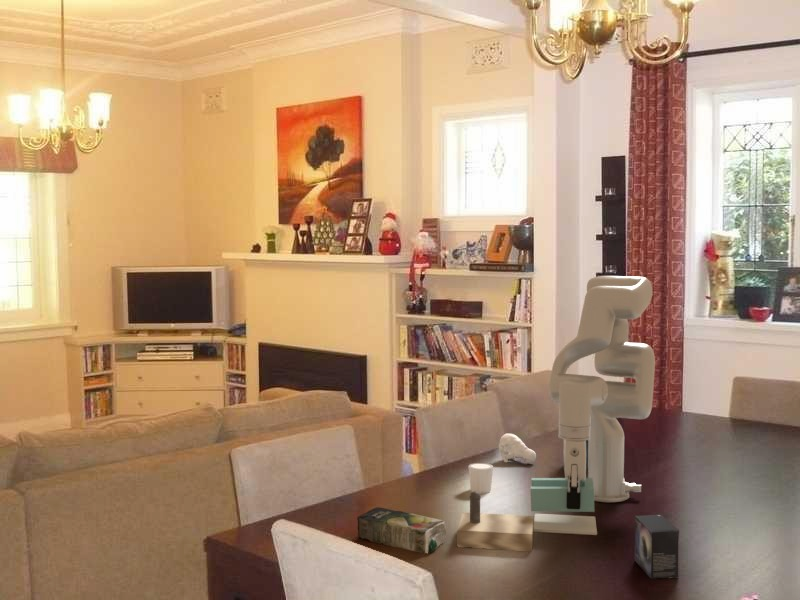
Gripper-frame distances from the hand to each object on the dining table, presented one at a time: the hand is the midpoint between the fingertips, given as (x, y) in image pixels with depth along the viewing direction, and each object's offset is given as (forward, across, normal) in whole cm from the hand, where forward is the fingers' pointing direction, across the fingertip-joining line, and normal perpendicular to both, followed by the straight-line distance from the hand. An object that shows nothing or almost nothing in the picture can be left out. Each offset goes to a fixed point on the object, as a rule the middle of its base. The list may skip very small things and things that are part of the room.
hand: (573, 506), depth 219 cm
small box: (+7, -22, -17) cm, 28 cm away
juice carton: (+7, -13, +40) cm, 42 cm away
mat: (+6, +4, +2) cm, 8 cm away
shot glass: (+6, +30, +25) cm, 40 cm away
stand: (+6, -8, +18) cm, 21 cm away
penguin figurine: (+6, +62, +16) cm, 65 cm away
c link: (+1, +4, +2) cm, 4 cm away
